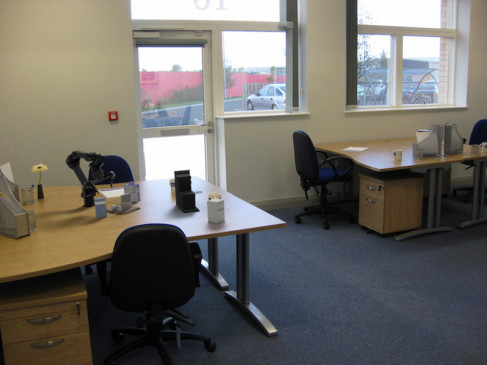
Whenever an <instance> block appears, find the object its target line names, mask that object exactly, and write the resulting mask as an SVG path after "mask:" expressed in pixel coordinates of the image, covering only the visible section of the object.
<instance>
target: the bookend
mask: <svg viewBox="0 0 487 365" xmlns="http://www.w3.org/2000/svg"><path fill="white" fill-rule="evenodd" d="M173 174H174V192H175V193H174V194H175V205H176V207H178V209H179V210H180V211H181V212H182V213H183V214H187V213H196V212H200V211H201V210H200V209H199V208H198V206H197V205H196V204H197V201H196V193H195V192H194V191H193V189H192V184H193V182H192V175H191V169H181V170H173Z"/></svg>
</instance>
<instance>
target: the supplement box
mask: <svg viewBox="0 0 487 365" xmlns="http://www.w3.org/2000/svg"><path fill="white" fill-rule="evenodd" d="M206 203H207V204H206V205H207V222H209V223H213V224H219V223H221V222H223V221H225V220H226V219H225V214H226V213H225V200H224V199H223V198H212V199H209V200H207V202H206Z"/></svg>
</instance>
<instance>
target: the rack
mask: <svg viewBox="0 0 487 365" xmlns="http://www.w3.org/2000/svg"><path fill="white" fill-rule="evenodd" d="M120 203H121V204H117V205H114V204H112V205H111V207H108V208H106V211H107V213H113V212H114V214H120V213H121V215H127V214H129V213H132V212H136V211H137V210H141V207H139V206H134V205H133V202H131V198H130V193H126V194H124V193H123V194H121V195H120ZM135 210H136V211H135Z"/></svg>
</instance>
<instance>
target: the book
mask: <svg viewBox="0 0 487 365" xmlns="http://www.w3.org/2000/svg"><path fill="white" fill-rule="evenodd" d="M94 201H95V205H94V208H95V209H94V210H95V217H96V219H103V218H107V217H108V214H107V213H108V212H107V211H106V209H107V204H106V203H107V202H106V197H105V196H104V197H97V198H94Z"/></svg>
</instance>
